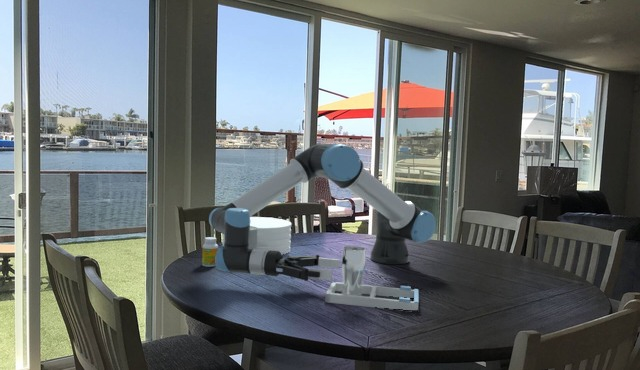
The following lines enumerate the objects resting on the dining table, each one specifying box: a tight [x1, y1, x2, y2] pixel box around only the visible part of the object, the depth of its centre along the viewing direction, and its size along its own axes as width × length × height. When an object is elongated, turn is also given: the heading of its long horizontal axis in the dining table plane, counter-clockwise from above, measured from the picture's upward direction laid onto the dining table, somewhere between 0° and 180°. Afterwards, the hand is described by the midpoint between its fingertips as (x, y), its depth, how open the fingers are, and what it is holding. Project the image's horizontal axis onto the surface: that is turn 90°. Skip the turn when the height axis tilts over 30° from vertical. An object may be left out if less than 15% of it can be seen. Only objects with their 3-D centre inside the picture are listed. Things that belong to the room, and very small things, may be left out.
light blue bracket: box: [398, 285, 420, 305], centre depth 147 cm, size 5×13×3 cm, turn 169°
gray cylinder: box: [249, 226, 258, 249], centre depth 189 cm, size 10×10×12 cm
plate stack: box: [221, 216, 293, 256], centre depth 210 cm, size 28×28×12 cm
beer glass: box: [341, 245, 367, 296], centre depth 150 cm, size 7×7×15 cm
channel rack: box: [324, 281, 419, 311], centre depth 149 cm, size 26×13×2 cm, turn 79°
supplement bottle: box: [201, 236, 219, 268], centre depth 180 cm, size 5×5×10 cm
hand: (336, 269), depth 150 cm, fingers open, 13 cm apart
